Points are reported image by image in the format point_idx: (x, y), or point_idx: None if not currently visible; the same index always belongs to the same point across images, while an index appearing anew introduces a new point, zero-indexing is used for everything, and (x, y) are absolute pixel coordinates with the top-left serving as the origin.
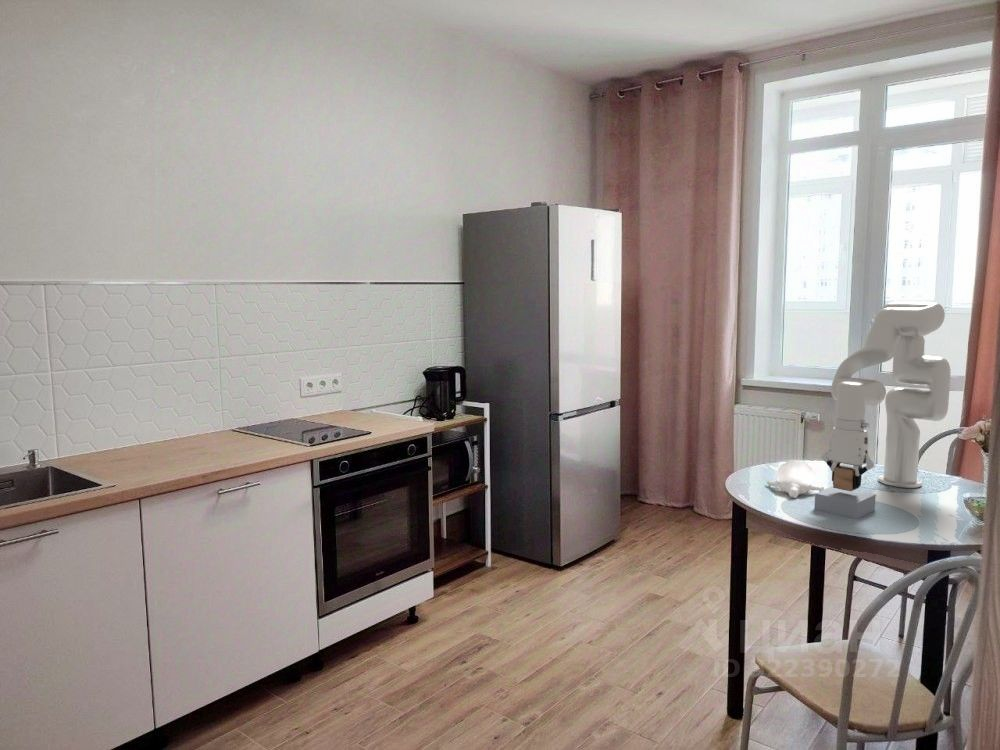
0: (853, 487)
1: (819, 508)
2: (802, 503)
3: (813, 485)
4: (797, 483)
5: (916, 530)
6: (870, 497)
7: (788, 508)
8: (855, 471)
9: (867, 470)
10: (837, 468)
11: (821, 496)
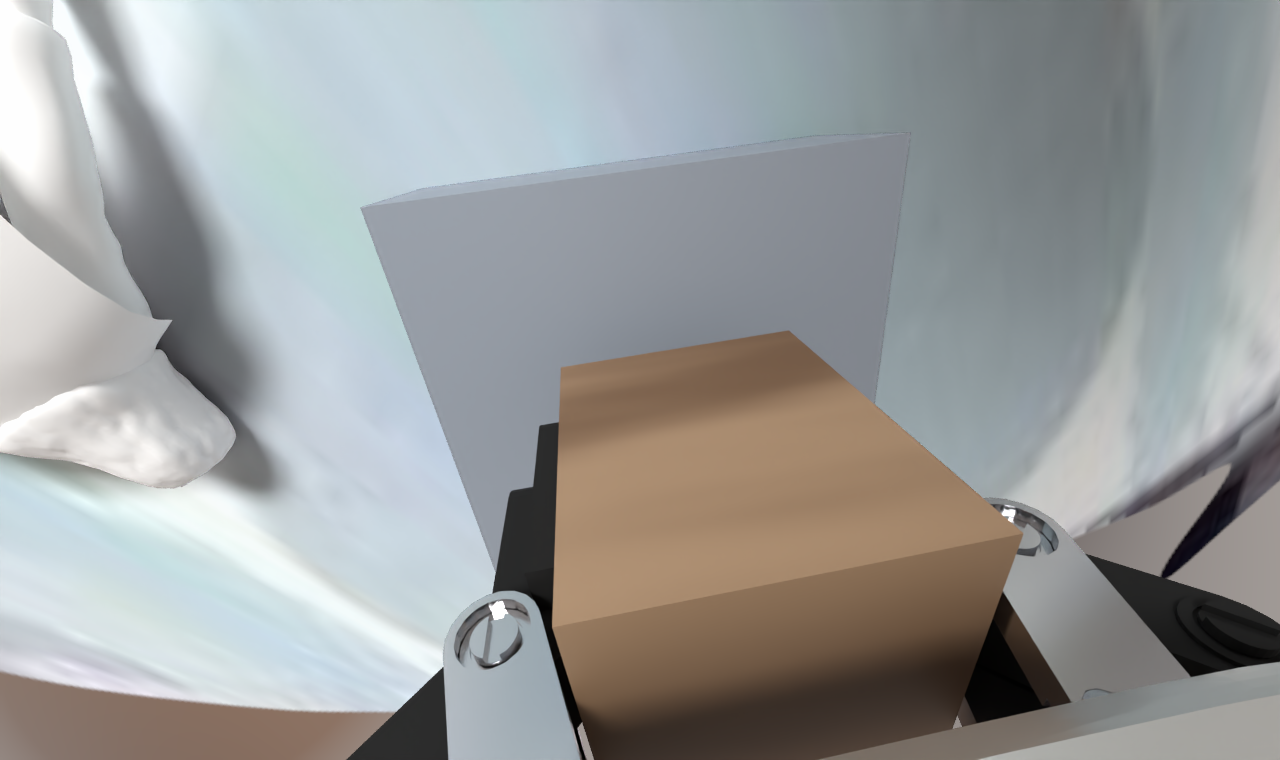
0: None
1: None
2: (381, 477)
3: (11, 141)
4: (3, 394)
5: (1126, 343)
6: (885, 283)
7: (433, 609)
8: (970, 698)
9: (1214, 600)
10: None
11: None
